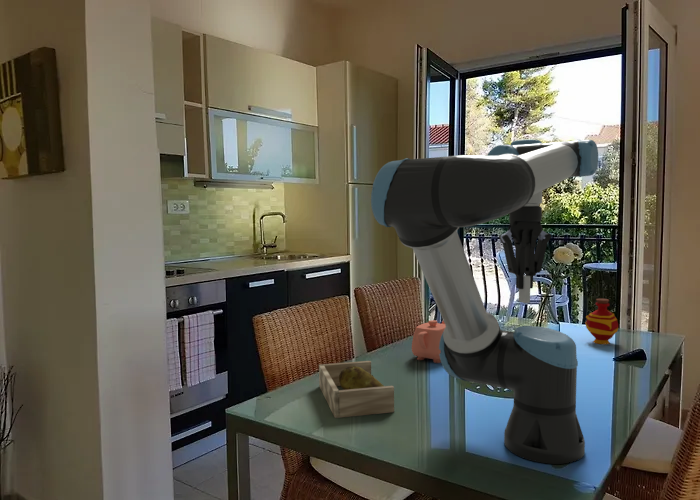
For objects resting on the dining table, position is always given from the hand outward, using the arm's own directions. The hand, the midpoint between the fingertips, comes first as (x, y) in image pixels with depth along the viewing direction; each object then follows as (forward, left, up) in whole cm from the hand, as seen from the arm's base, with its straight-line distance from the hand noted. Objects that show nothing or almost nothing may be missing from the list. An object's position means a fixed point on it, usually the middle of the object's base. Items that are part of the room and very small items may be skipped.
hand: (524, 301), depth 133 cm
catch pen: (+11, +40, -24) cm, 48 cm away
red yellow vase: (+42, -54, -25) cm, 73 cm away
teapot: (+40, +8, -25) cm, 48 cm away
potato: (+9, +39, -25) cm, 47 cm away
